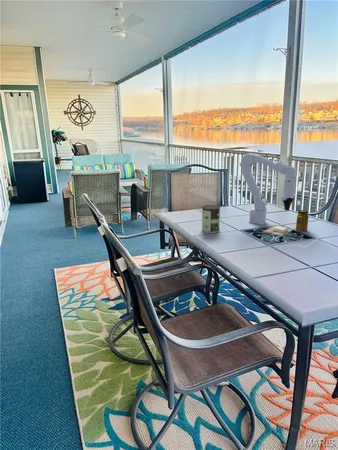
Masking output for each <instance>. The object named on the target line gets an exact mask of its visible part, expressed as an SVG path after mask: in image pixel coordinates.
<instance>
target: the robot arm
mask: <svg viewBox="0 0 338 450" xmlns="http://www.w3.org/2000/svg"><path fill="white" fill-rule="evenodd" d="M240 161H241V165H240V167H241V168H240V172H241V175H242V176H243V178H244V180H245V182H246V184H247V187H248V189H249V191H250V193H251V195H252V201H253V203H254V204H253V205H254V207H252V208H251V209H250V212H249V221H248V223H250V224H258V225H265V224H267V223H268V221H267V207H266V206H268V200H267V198H266V197H265V196H264V195H263V193H262V192H261V191H260V188H259V186H258V184H257V183H256V180H255V178H254V176H253V173H252V171H251V168H252V166H253V164H256V163H258V164H259V163H260V164H262V165H265V166H268V167H270V168H271V169H272V170H273V171H274V172H277V173H279V174H281V175H284V183H283V194H282V196H281V201H282V203H283V207H284V210H285V211H287V212H288V211H290V208H291V206H292V204H293V202H294V200H295V198H296V195H295V194H296V193H295V185H296V176H295V175H296V174H297V169H296V168H295V167H294V166H290V165H289V164H285V163H283V161H281V160H280V161H272V159H268V158H266V157H264V156H262V155H260V154H256V153H253V152H249V153H246V154H243V157H242V158H241V160H240Z"/></svg>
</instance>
